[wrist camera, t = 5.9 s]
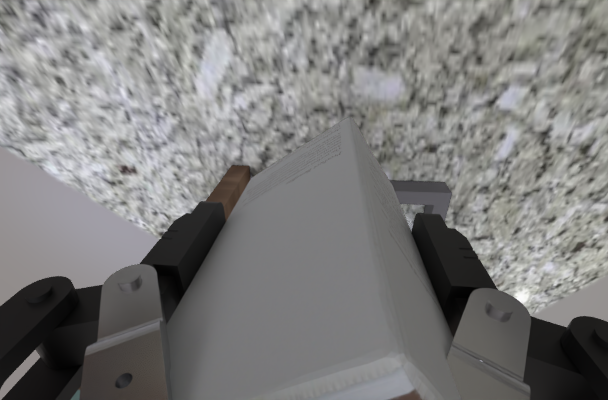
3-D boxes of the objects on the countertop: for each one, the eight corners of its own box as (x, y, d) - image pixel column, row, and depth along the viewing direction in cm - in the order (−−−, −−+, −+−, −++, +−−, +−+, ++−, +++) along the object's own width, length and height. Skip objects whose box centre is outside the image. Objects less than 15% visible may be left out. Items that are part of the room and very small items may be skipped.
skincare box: (297, 233, 17) (239, 553, 7) (246, 172, 16) (69, 470, 5) (398, 180, 15) (537, 530, 5) (351, 103, 14) (407, 378, 3)
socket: (444, 182, 34) (452, 193, 31) (424, 262, 39) (429, 276, 37) (339, 178, 34) (339, 189, 32) (334, 257, 40) (334, 270, 38)
